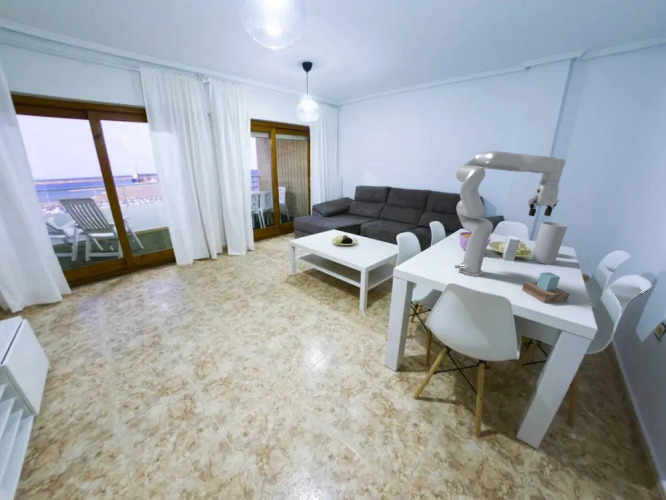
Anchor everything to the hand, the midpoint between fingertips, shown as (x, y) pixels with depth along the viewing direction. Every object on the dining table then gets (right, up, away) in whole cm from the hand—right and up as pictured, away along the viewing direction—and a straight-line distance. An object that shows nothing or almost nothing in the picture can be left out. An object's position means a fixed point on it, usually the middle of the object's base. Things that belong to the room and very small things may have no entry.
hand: (539, 215), depth 137 cm
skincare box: (+4, -25, +31) cm, 40 cm away
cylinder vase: (+25, -26, +28) cm, 46 cm away
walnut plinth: (-11, -41, -16) cm, 45 cm away
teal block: (-11, -37, -17) cm, 42 cm away
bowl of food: (-13, -20, +44) cm, 50 cm away
